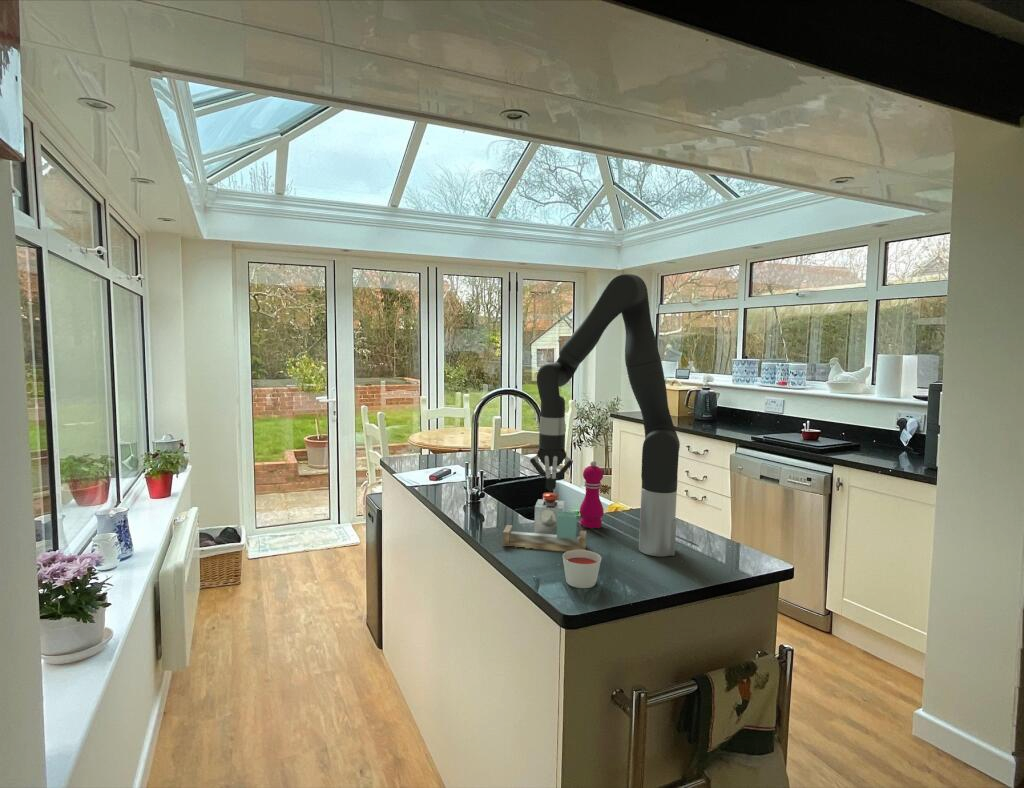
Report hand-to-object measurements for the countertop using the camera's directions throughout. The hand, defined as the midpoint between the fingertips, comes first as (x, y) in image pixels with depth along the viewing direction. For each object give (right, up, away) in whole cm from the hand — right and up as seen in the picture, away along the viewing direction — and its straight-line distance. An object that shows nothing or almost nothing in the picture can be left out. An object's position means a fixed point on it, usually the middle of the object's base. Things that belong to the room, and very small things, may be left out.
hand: (550, 490), depth 176 cm
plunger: (0, -10, +1) cm, 10 cm away
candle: (+5, -16, -35) cm, 39 cm away
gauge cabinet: (0, -12, +1) cm, 12 cm away
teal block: (+3, -10, -13) cm, 17 cm away
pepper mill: (+13, -12, +6) cm, 18 cm away
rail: (-2, -13, -11) cm, 18 cm away
